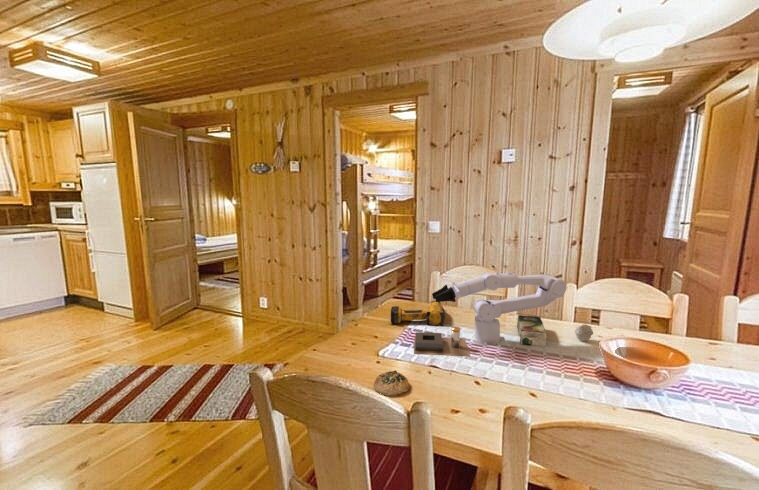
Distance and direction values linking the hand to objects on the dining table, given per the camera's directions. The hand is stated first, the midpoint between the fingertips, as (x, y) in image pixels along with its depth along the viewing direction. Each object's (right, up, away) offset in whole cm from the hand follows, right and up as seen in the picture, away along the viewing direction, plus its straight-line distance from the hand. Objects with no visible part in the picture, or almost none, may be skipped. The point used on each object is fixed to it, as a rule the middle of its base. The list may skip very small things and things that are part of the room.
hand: (434, 297), depth 138 cm
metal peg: (+7, -18, -5) cm, 20 cm away
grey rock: (+59, -18, +2) cm, 62 cm away
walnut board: (+2, -19, -4) cm, 19 cm away
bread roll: (-18, -23, -31) cm, 42 cm away
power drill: (-3, -14, +31) cm, 35 cm away
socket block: (-3, -19, -3) cm, 19 cm away
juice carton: (+41, -17, +7) cm, 45 cm away
